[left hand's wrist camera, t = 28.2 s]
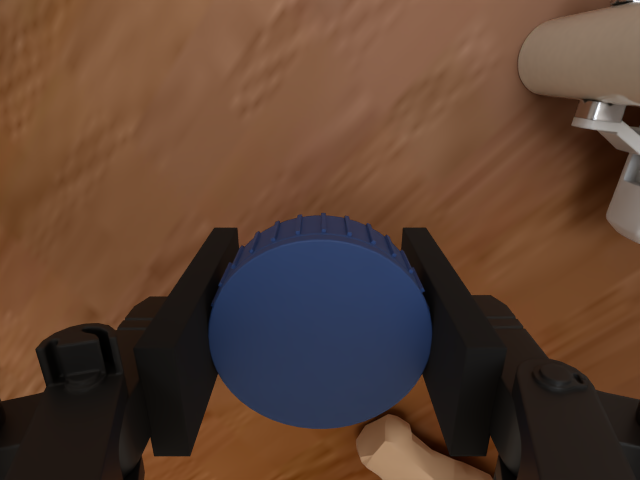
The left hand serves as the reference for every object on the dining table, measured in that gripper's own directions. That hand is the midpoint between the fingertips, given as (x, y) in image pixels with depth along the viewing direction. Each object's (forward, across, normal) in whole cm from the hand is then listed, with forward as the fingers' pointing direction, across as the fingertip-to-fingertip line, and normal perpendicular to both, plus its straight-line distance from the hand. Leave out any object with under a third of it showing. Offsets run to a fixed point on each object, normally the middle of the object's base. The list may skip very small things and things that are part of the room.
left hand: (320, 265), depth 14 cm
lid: (-4, 0, 0) cm, 4 cm away
